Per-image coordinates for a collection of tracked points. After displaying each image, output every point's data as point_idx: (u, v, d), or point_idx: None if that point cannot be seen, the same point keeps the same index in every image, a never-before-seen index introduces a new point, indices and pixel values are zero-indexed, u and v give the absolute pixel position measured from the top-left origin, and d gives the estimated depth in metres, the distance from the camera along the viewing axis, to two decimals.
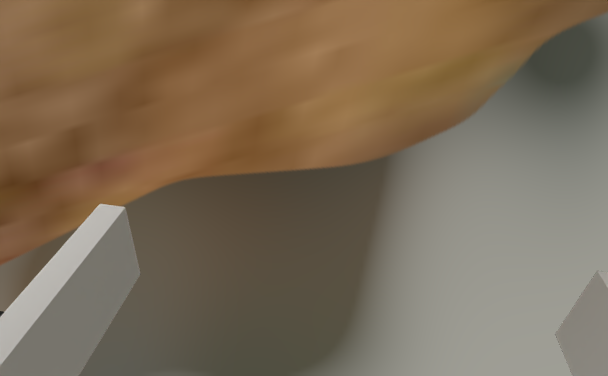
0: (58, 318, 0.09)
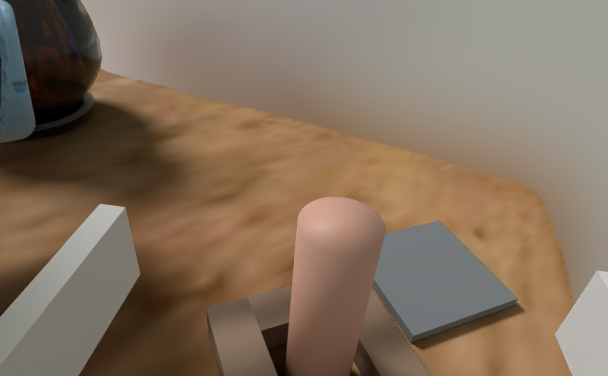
0: (58, 318, 0.09)
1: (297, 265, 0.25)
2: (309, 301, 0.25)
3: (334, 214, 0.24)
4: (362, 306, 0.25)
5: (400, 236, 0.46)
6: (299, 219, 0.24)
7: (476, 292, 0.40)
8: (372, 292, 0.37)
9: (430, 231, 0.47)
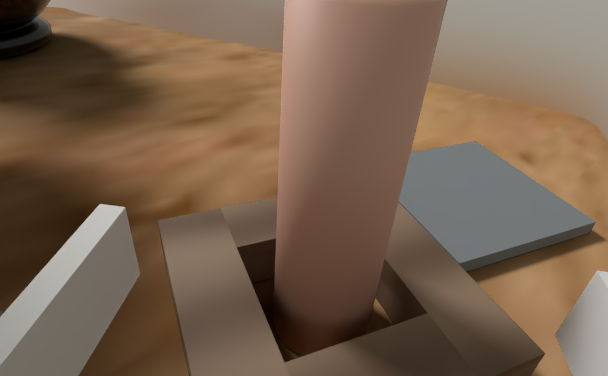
0: (58, 318, 0.09)
1: (286, 75, 0.14)
2: (309, 142, 0.14)
3: None
4: (401, 157, 0.15)
5: (427, 155, 0.35)
6: None
7: (537, 215, 0.29)
8: (398, 205, 0.26)
9: (465, 151, 0.36)
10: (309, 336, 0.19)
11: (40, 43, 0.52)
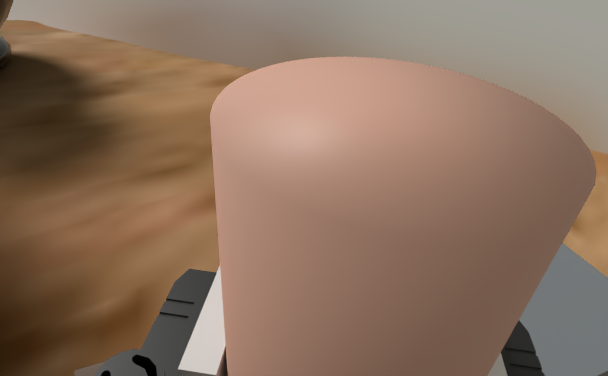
0: None
1: (223, 286, 0.07)
2: None
3: (362, 91, 0.06)
4: None
5: None
6: (222, 100, 0.06)
7: (603, 324, 0.22)
8: None
9: None
10: None
11: None
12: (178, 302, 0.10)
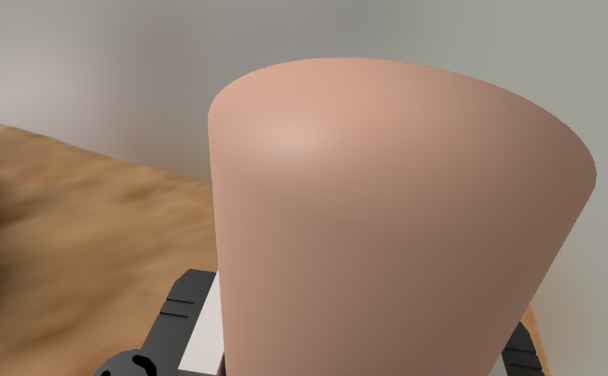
0: None
1: (222, 288, 0.06)
2: None
3: (360, 92, 0.06)
4: None
5: None
6: (220, 101, 0.06)
7: None
8: None
9: None
10: None
11: None
12: (178, 302, 0.10)
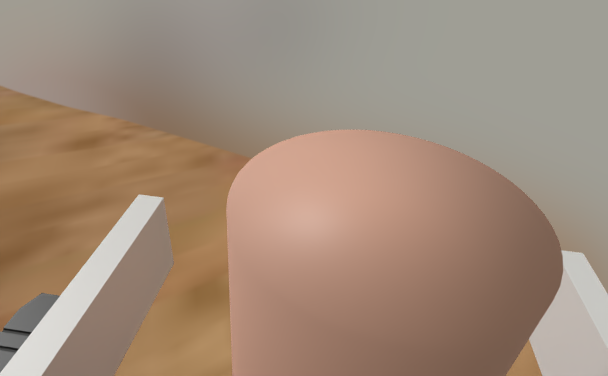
0: (109, 301, 0.10)
1: (234, 348, 0.07)
2: None
3: (361, 175, 0.07)
4: None
5: None
6: (236, 189, 0.07)
7: None
8: None
9: None
10: None
11: None
12: (15, 332, 0.09)
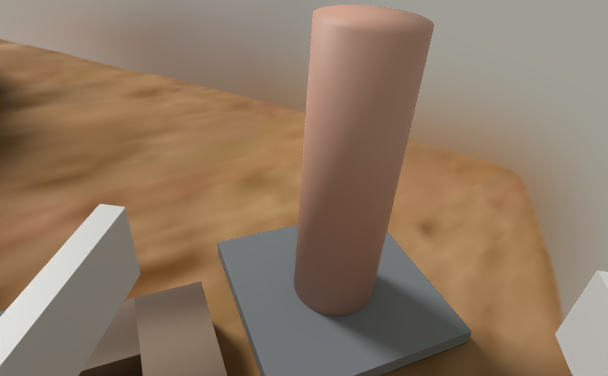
0: (58, 318, 0.09)
1: (312, 83, 0.18)
2: (329, 133, 0.18)
3: (362, 13, 0.18)
4: (399, 145, 0.19)
5: None
6: (315, 13, 0.18)
7: (403, 321, 0.25)
8: (210, 326, 0.21)
9: None
10: (325, 294, 0.24)
11: None
12: None
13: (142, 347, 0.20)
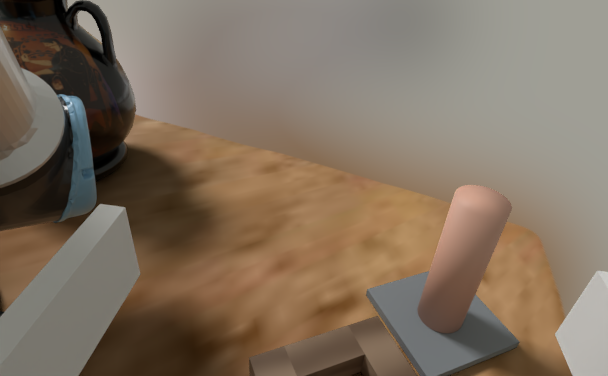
0: (58, 318, 0.09)
1: (453, 227, 0.39)
2: (460, 250, 0.39)
3: (475, 195, 0.39)
4: (491, 254, 0.40)
5: (413, 282, 0.51)
6: (456, 198, 0.38)
7: (482, 336, 0.45)
8: (392, 340, 0.42)
9: None
10: (443, 322, 0.45)
11: None
12: None
13: (364, 351, 0.41)
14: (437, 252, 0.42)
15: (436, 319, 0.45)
